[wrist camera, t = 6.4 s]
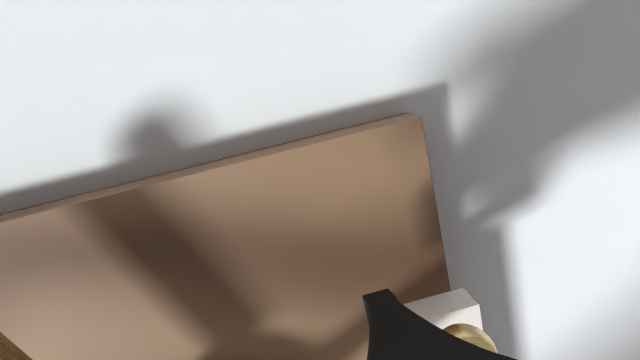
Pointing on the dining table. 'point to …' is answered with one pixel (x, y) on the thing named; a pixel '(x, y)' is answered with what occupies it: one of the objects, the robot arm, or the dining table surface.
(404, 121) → the stand board
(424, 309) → the frame
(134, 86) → the dining table surface
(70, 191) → the dining table surface
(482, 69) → the dining table surface
